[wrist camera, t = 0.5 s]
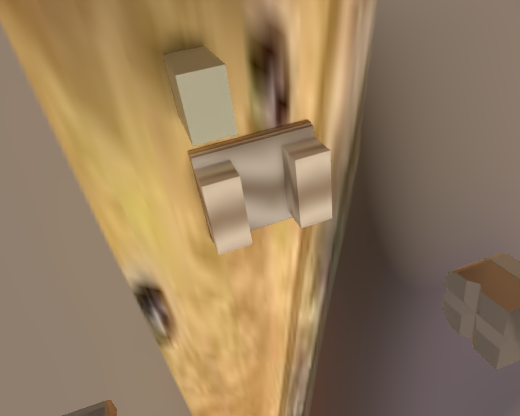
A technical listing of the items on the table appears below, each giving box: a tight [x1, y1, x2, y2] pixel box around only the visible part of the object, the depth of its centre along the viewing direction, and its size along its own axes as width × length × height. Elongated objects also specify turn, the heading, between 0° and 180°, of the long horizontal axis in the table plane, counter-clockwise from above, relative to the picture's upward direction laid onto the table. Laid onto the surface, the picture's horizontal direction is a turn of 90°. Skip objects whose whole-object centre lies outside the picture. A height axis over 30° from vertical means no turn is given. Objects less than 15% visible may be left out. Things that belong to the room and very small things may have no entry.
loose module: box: [163, 46, 238, 146], centre depth 35 cm, size 6×4×8 cm, turn 8°
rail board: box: [188, 120, 332, 255], centre depth 44 cm, size 12×14×6 cm
